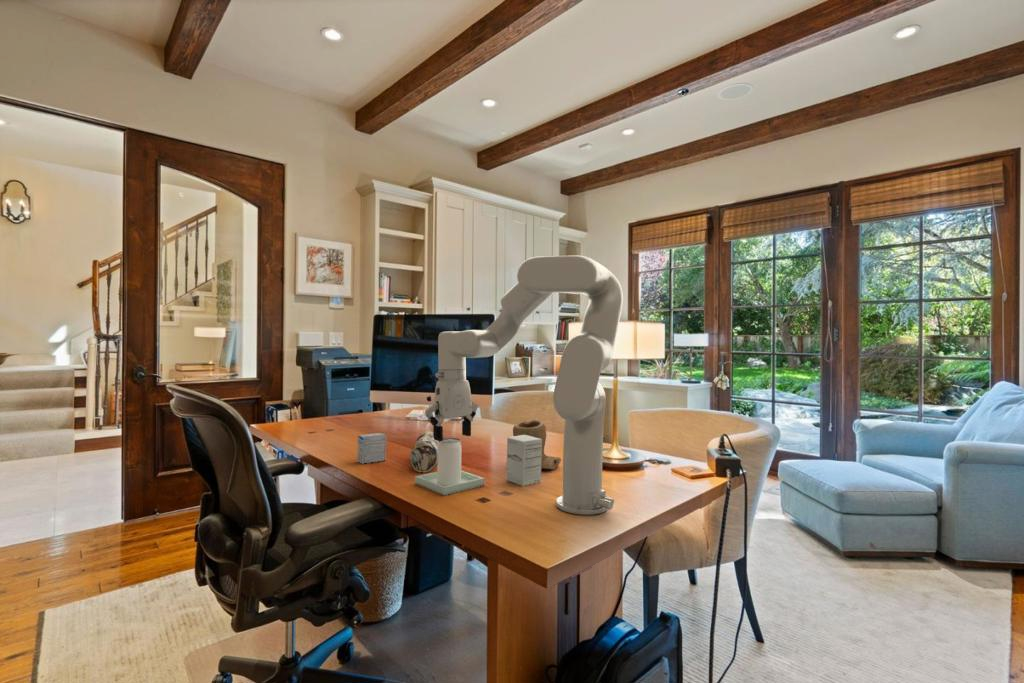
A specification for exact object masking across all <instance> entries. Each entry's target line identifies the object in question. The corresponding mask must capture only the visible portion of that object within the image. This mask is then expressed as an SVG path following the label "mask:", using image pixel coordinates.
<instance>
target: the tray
mask: <svg viewBox="0 0 1024 683" xmlns="http://www.w3.org/2000/svg"><path fill="white" fill-rule="evenodd" d="M485 480H486V479H485V477H482V476H479V475H476V474H474V473H470V472H468V471H464V470H462V469H461V482H460V483H458V484H453V485H449V486H443V485H440V484H438V482H437V471H435V472H428V473H423V474H421V475H416V476H414V484H415V485H416V484H418V485H417V486H419V485H420V486H419V487H421V486H423V487H422V488H424V487H425V488H424V489H426V488H428V489H427V490H429V489H430V490H429V491H431V490H432V491H431V492H433V491H435V492H434V493H436V492H437V493H436V494H438V493H439V495H441V494H442V495H441V496H443V495H444V496H443V497H445V495H446V496H449V495H448V494H450V495H454V494H457V493H456V492H458V493H461V491H462V492H465V490H466V491H468V489H470V490H473V489H477V488H480V486H481V487H484V486H485ZM476 487H477V488H476ZM472 488H473V489H472ZM453 493H454V494H453Z"/></svg>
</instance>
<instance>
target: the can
mask: <svg viewBox="0 0 1024 683" xmlns="http://www.w3.org/2000/svg"><path fill="white" fill-rule="evenodd" d="M462 448H463V446H462V443H461V439H460V438H458V437H443V440H442V441H440V443H439V445H438V462H437V471H436V472H437V482H438V484H440V485H443V486H449V485H453V484H458V483H460V482H461V470H462Z"/></svg>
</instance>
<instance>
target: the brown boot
mask: <svg viewBox="0 0 1024 683" xmlns="http://www.w3.org/2000/svg"><path fill="white" fill-rule="evenodd" d="M519 435H528V436H532V437H536V438H539V439H542V457H541V470H555V469H557V468H558V467H559V465H560V463H561V460H562V458H561V457H559V456H548V455H547V454H545V445H546V441H547V427H546V424H545V423H544V422H543V421H541V420H537V419H535V420H534V419H533V420H530V421H527V420H523V421H522V420H521V421H519V422H516V423H515V424H514V426H513V428H512V437H513V436H519Z"/></svg>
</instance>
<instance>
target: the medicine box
mask: <svg viewBox="0 0 1024 683" xmlns="http://www.w3.org/2000/svg"><path fill="white" fill-rule="evenodd" d="M386 442H387V435H386V434H384V433H381V432H376V433H374V432H373V433H369V434H359V435H358V436H357V462H358V461H359V462H360V463H359V462H358V463H359V464H361V463H362V465H365V464H364V463H367V464H371V462H373V463H377V462H378V461H379V462H385V461H386V456H387V455H386V453H387V452H386V451H387V450H386V448H387V447H386V446H387V443H386ZM384 460H385V461H384Z"/></svg>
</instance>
